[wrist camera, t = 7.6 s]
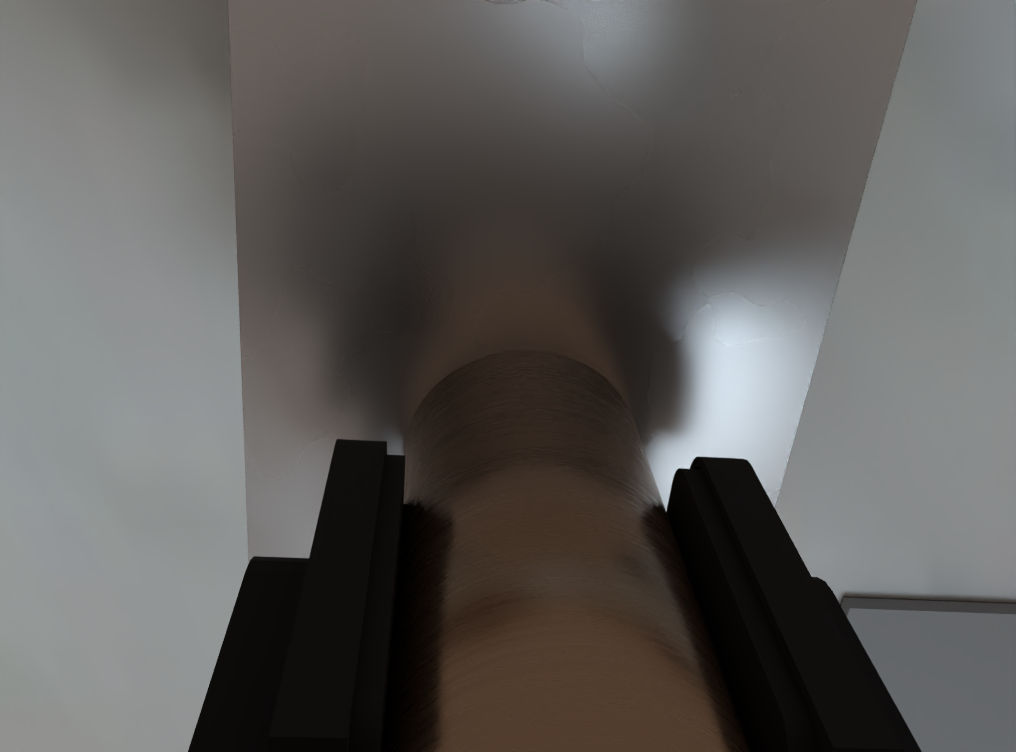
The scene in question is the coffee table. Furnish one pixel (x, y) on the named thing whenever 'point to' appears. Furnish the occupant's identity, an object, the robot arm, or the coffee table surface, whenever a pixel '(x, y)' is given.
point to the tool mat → (945, 668)
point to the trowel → (542, 319)
